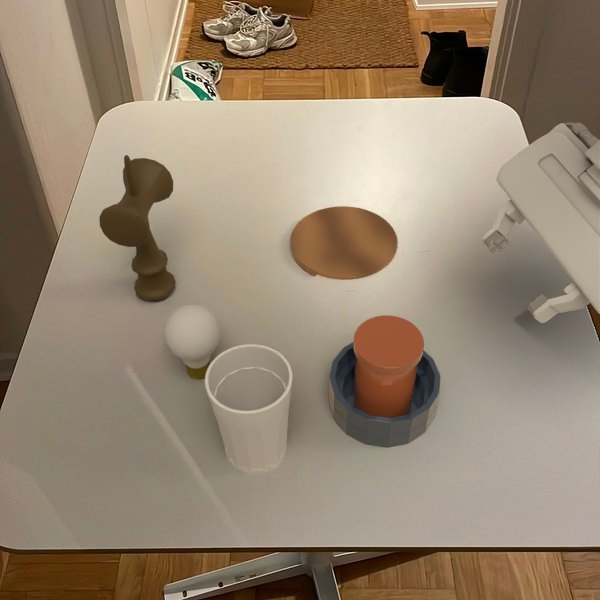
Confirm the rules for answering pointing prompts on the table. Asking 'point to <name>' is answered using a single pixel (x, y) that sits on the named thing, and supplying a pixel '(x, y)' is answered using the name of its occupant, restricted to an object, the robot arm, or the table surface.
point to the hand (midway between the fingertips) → (509, 279)
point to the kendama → (141, 225)
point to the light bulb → (193, 337)
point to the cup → (251, 405)
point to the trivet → (343, 243)
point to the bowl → (376, 427)
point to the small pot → (386, 365)
